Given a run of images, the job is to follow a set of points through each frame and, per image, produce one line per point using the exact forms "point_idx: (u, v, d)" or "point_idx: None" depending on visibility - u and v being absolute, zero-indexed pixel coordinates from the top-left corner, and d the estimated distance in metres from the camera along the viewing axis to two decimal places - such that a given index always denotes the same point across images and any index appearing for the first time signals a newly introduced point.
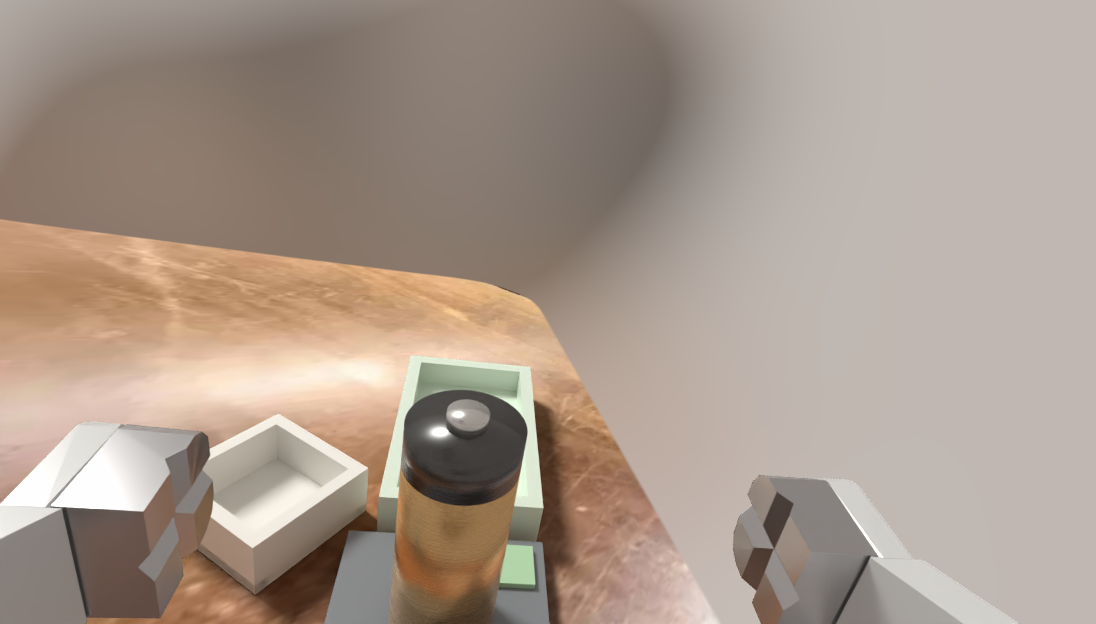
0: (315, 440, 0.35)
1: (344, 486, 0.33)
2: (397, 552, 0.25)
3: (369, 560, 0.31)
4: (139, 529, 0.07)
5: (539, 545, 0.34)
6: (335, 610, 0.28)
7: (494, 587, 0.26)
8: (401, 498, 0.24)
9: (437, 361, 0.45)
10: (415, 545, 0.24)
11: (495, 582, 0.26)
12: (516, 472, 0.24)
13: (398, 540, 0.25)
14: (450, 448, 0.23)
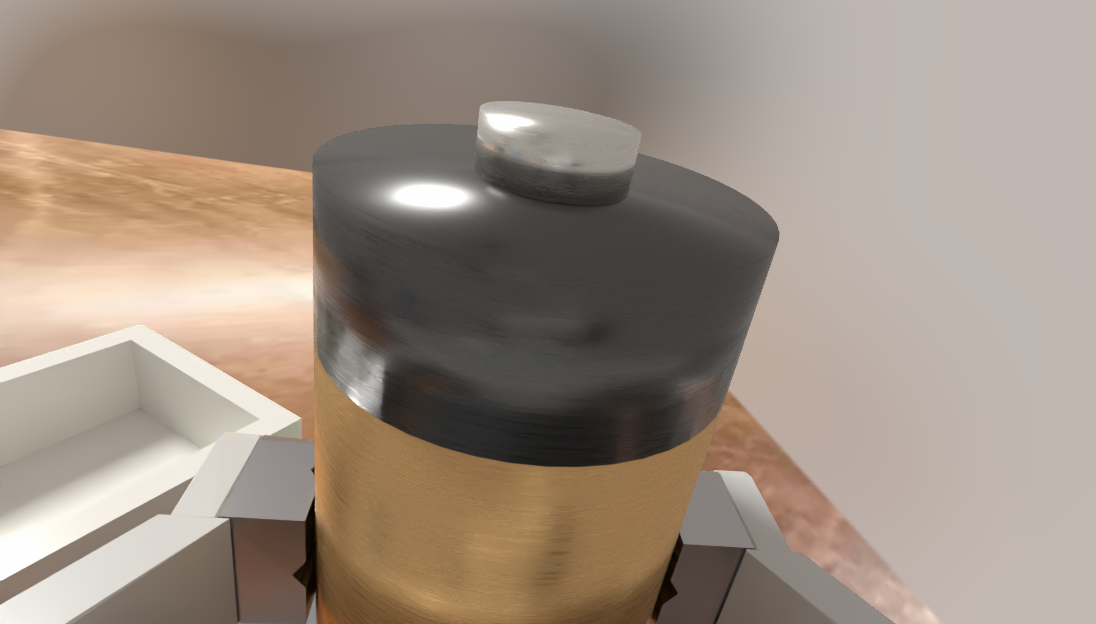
0: (202, 368, 0.18)
1: None
2: None
3: None
4: (298, 538, 0.07)
5: None
6: None
7: None
8: (317, 448, 0.07)
9: None
10: (364, 614, 0.07)
11: None
12: (741, 348, 0.06)
13: (318, 590, 0.08)
14: (500, 217, 0.05)
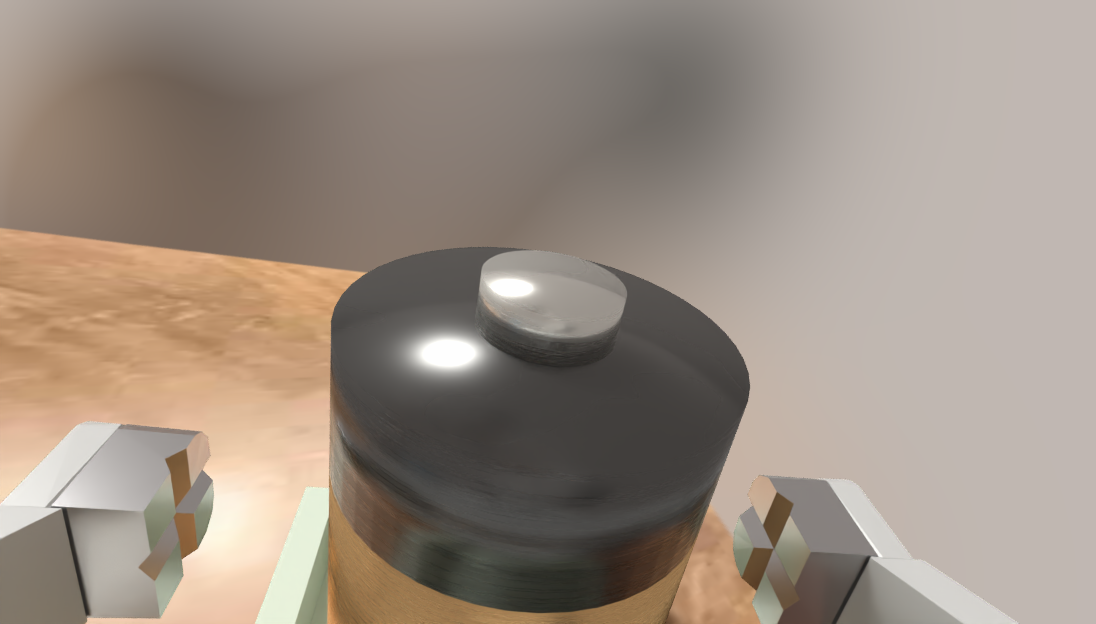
0: None
1: None
2: None
3: None
4: (139, 529, 0.07)
5: None
6: None
7: None
8: (331, 565, 0.07)
9: None
10: None
11: None
12: (715, 486, 0.07)
13: None
14: (499, 394, 0.06)
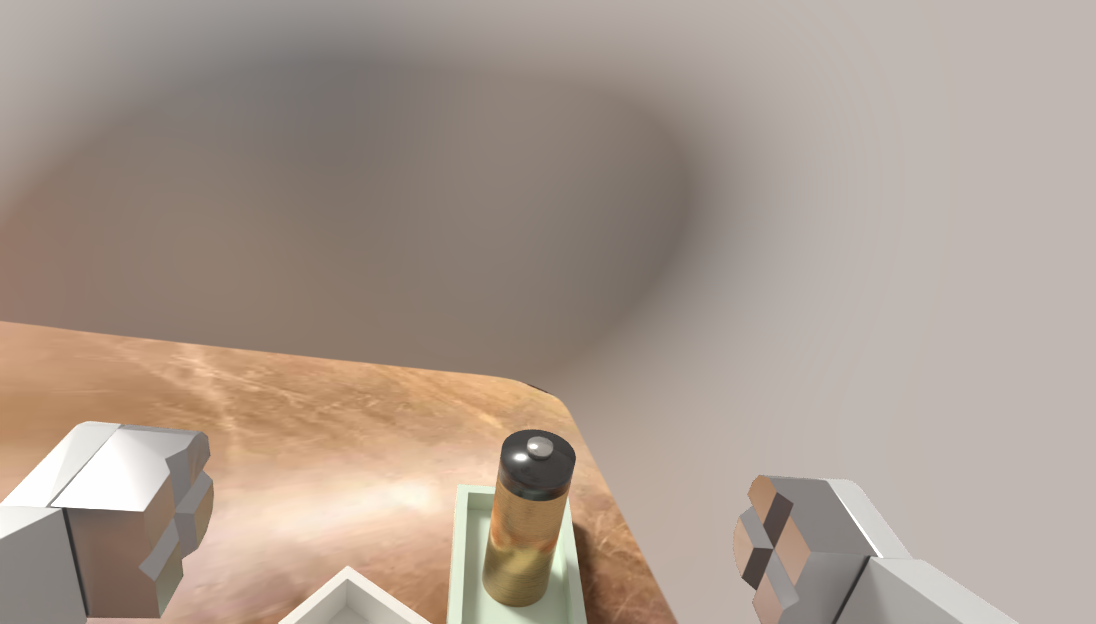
0: (384, 595, 0.39)
1: None
2: (493, 531, 0.41)
3: None
4: (139, 529, 0.07)
5: None
6: None
7: (553, 554, 0.42)
8: (498, 497, 0.40)
9: (482, 489, 0.49)
10: (507, 525, 0.39)
11: (553, 550, 0.41)
12: (569, 481, 0.39)
13: (495, 523, 0.40)
14: (531, 466, 0.38)
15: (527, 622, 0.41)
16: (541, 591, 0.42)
